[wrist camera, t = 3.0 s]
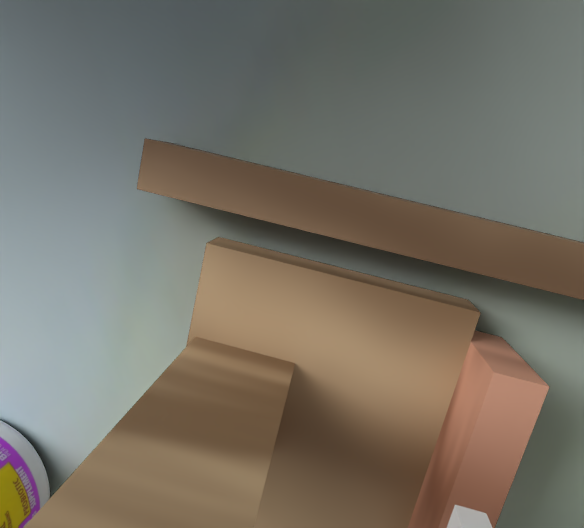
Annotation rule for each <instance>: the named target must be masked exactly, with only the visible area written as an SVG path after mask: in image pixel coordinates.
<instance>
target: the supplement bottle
mask: <svg viewBox="0 0 584 528" xmlns="http://www.w3.org/2000/svg"><path fill="white" fill-rule="evenodd" d="M49 499H50V487H49V481H48V477H47V473H46V470H45V467H44V465H43V463H42V461H41V459H40V457H39V455H38V454H37V452H36V451H35V449H34V448H33V446H32V445H31V444H30V443H29V442H28V440H27V439H26V438H25V437H24V436H23V435H22V434H20V433H19V432H18V431H17V430H15V429H14V428H13V427H11V426H10V425H8V424H6V423H4V422H3V421H1V420H0V528H24V527H25V526H26V524H27V523H28V522H29V521H30V520H31V519H32V518H33V517H34V516H35V514H36V513H37V512H38V511H39V510H40V509H41V508H42V507H43V506H44V504H45V503H46V502H47V501H48V500H49Z"/></svg>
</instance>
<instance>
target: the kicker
mask: <svg viewBox="0 0 584 528" xmlns="http://www.w3.org/2000/svg"><path fill="white" fill-rule="evenodd" d="M480 313H481V312H480V311H479V310H478V309H477V308H476V307H475V306H474V305H473V304H472V303H471V302H470V301H469V300H467V299H463V298H459V297H455V296H451V295H447V294H443V293H439V292H436V291H432V290H428V289H424V288H420V287H416V286H412V285H408V284H404V283H400V282H396V281H392V280H388V279H384V278H380V277H376V276H372V275H368V274H364V273H360V272H356V271H352V270H348V269H344V268H340V267H336V266H332V265H328V264H324V263H320V262H316V261H312V260H309V259H305V258H301V257H297V256H293V255H289V254H285V253H281V252H277V251H273V250H269V249H265V248H261V247H257V246H253V245H249V244H245V243H241V242H237V241H233V240H229V239H225V238H221V237H217V238H216V239H214V240H212V241H210V242H208V243H206V248H205V253H204V259H203V264H202V269H201V274H200V279H199V284H198V289H197V294H196V300H195V305H194V310H193V315H192V320H191V325H190V330H189V335H188V341H187V346H186V348H185V349H184V350H183V351H182V352H181V353H180V355H179V356H178V357H177V358H176V359H175V360H174V361H173V362H172V363H171V365H170V366H169V367H168V368H167V369H166V370H165V371H164V372H163V373H162V375H161V376H160V377H159V378H158V379H157V380H156V381H155V382H154V383H153V385H152V386H151V387H150V388H149V389H148V390H147V391H146V392H145V393H144V395H143V396H142V397H141V398H140V399H139V400H138V401H137V402H136V403H135V404H134V406H133V407H132V408H131V409H130V410H129V411H128V412H127V413H126V414H125V416H124V417H123V418H122V419H121V420H120V421H119V422H118V423H117V424H116V426H115V427H114V428H113V429H112V430H111V431H110V432H109V433H108V434H107V436H106V437H105V438H104V439H103V440H102V441H101V442H100V443H99V444H98V446H97V447H96V448H95V449H94V450H93V451H92V452H91V453H90V454H89V456H88V457H87V458H86V459H85V460H84V461H83V462H82V463H81V464H80V466H79V467H78V468H77V469H76V470H75V471H74V472H73V473H72V474H71V476H70V477H69V478H68V479H67V480H66V481H65V482H64V483H63V484H62V486H61V487H60V488H59V489H58V490H57V491H56V492H55V493H54V494H53V496H52V497H51V498H50V499H49V500H48V501H47V502H46V503H45V504H44V506H43V507H42V508H41V509H40V510H39V511H38V512H37V513H36V514H35V516H34V517H33V518H32V519H31V520H30V521H29V522H28V523H27V524H26V526H25V527H24V528H447V525H448V523H449V520H450V517H451V514H452V512H453V509H454V506H455V505H459V506H462V507H466V508H469V509H473V510H476V511H480V512H484V513H486V514H487V516H488V518H489V521H490V523H491V526H492V528H495V526H496V523H497V521H498V518H499V515H500V513H501V510H502V508H503V505H504V503H505V500H506V497H507V495H508V492H509V490H510V487H511V485H512V482H513V480H514V477H515V474H516V472H517V469H518V467H519V464H520V462H521V459H522V456H523V454H524V451H525V449H526V446H527V444H528V441H529V438H530V436H531V433H532V431H533V428H534V426H535V423H536V420H537V418H538V415H539V413H540V410H541V408H542V405H543V402H544V400H545V397H546V395H547V392H548V390H549V386H548V385H547V384H546V383H545V382H544V380H543V379H542V378H541V377H540V376H539V375H538V374H537V373H536V372H535V371H534V370H533V369H532V368H531V367H530V366H529V365H528V364H527V363H526V362H525V361H524V360H523V359H522V358H521V357H520V356H519V355H518V353H517V352H516V351H515V350H514V349H513V348H512V347H511V346H510V345H509V344H508V343H507V342H506V341H505V340H504V339H503V338H502V337H499V336H495V335H491V334H487V333H483V332H479V331H476V330H475V328H476V325H477V322H478V319H479V316H480Z"/></svg>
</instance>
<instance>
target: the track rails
mask: <svg viewBox="0 0 584 528" xmlns="http://www.w3.org/2000/svg"><path fill="white" fill-rule="evenodd" d="M137 189H139V190H143V191H147V192H151V193H155V194H159V195H163V196H167V197H171V198H175V199H179V200H183V201H187V202H191V203H195V204H199V205H203V206H207V207H211V208H215V209H219V210H223V211H227V212H231V213H235V214H239V215H243V216H247V217H252V218H256V219H260V220H264V221H268V222H272V223H276V224H280V225H284V226H288V227H292V228H296V229H300V230H304V231H308V232H312V233H316V234H320V235H324V236H328V237H332V238H336V239H340V240H344V241H348V242H352V243H356V244H360V245H364V246H368V247H372V248H376V249H380V250H384V251H388V252H392V253H397V254H401V255H405V256H409V257H413V258H417V259H421V260H425V261H429V262H433V263H437V264H441V265H445V266H449V267H453V268H457V269H461V270H465V271H469V272H473V273H477V274H481V275H485V276H489V277H493V278H497V279H501V280H505V281H509V282H513V283H517V284H521V285H525V286H529V287H533V288H538V289H542V290H546V291H550V292H554V293H558V294H562V295H566V296H570V297H574V298H578V299H582V300H584V242H580V241H575V240H571V239H567V238H563V237H559V236H555V235H550V234H546V233H542V232H538V231H534V230H530V229H526V228H521V227H517V226H513V225H509V224H505V223H501V222H496V221H492V220H488V219H484V218H480V217H476V216H472V215H467V214H463V213H459V212H455V211H451V210H447V209H443V208H438V207H434V206H430V205H426V204H422V203H418V202H413V201H409V200H405V199H401V198H397V197H393V196H389V195H384V194H380V193H376V192H372V191H368V190H364V189H359V188H355V187H351V186H347V185H343V184H339V183H335V182H330V181H326V180H322V179H318V178H314V177H310V176H306V175H301V174H297V173H293V172H289V171H285V170H281V169H276V168H272V167H268V166H264V165H260V164H256V163H252V162H247V161H243V160H239V159H235V158H231V157H227V156H222V155H218V154H214V153H210V152H206V151H202V150H198V149H193V148H189V147H185V146H181V145H177V144H173V143H169V142H163V141H157V140H151V139H145V140H144V146H143V152H142V159H141V165H140V172H139V178H138V184H137Z"/></svg>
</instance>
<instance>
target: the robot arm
mask: <svg viewBox="0 0 584 528" xmlns="http://www.w3.org/2000/svg"><path fill="white" fill-rule="evenodd" d="M447 528H492V526H491V523H490V521H489V518H488V516H487V514H486V513H484V512H480V511H476V510H473V509H469V508H466V507H462V506H459V505H455V506H454V509H453V512H452V514H451V517H450V520H449V523H448V525H447Z"/></svg>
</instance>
